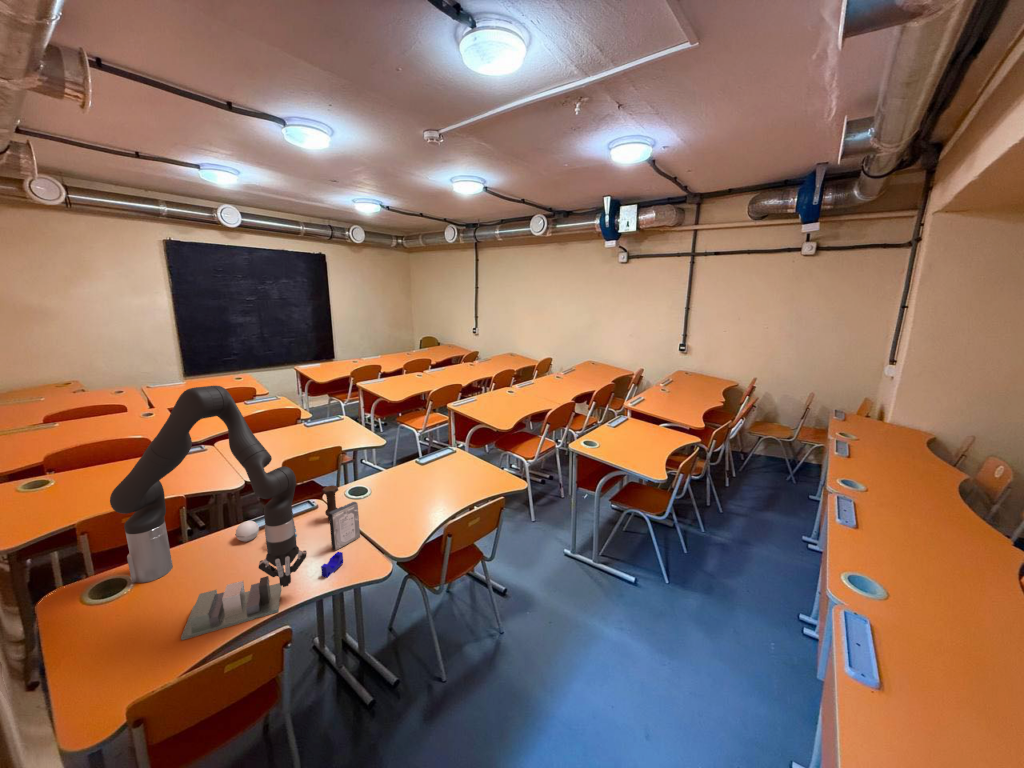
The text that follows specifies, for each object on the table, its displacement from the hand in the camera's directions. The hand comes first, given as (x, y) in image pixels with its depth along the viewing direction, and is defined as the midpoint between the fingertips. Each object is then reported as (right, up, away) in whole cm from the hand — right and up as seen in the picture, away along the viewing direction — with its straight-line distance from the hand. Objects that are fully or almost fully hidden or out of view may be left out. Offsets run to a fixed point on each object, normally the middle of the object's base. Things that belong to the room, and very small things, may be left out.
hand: (286, 584), depth 115 cm
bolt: (-5, +4, +41) cm, 41 cm away
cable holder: (+8, -2, +13) cm, 15 cm away
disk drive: (+7, +1, +27) cm, 28 cm away
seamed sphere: (-30, +2, +27) cm, 40 cm away
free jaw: (-6, -3, -3) cm, 7 cm away
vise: (-11, -5, -5) cm, 13 cm away
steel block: (-11, -4, -5) cm, 13 cm away
